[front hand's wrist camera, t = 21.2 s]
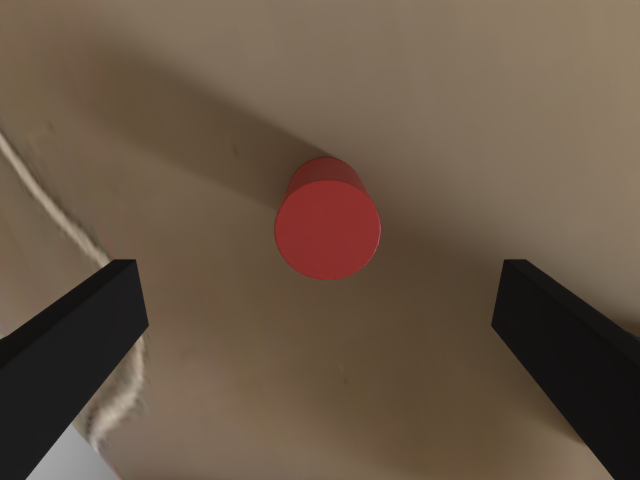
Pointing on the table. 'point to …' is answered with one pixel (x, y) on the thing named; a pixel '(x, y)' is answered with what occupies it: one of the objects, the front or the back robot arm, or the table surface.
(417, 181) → the table surface
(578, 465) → the table surface
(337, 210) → the cylinder
